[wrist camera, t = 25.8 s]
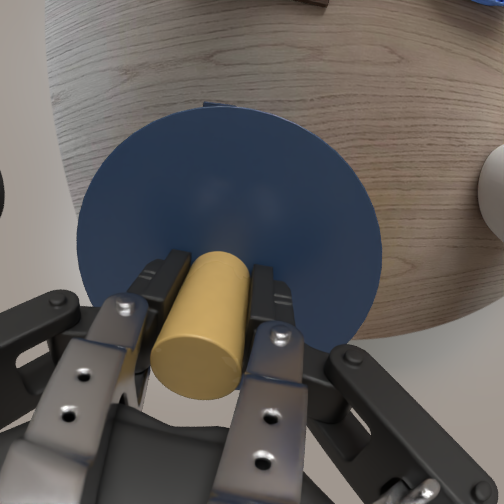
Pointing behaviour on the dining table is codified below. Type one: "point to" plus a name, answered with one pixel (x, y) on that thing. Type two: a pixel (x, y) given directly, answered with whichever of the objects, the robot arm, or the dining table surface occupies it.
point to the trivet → (315, 2)
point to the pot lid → (231, 235)
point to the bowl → (490, 2)
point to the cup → (493, 192)
